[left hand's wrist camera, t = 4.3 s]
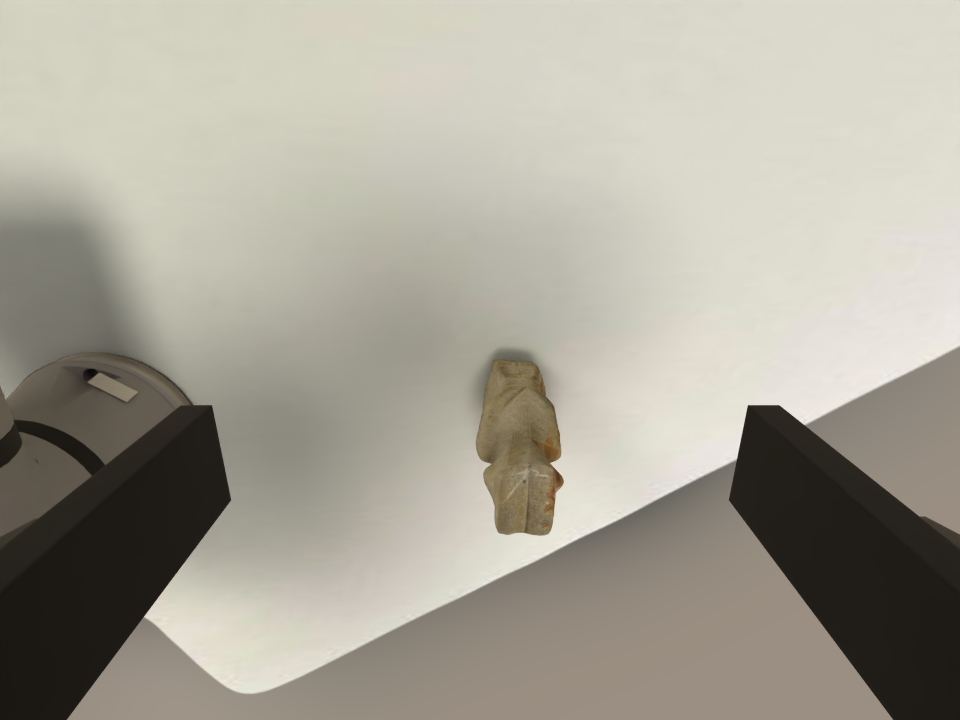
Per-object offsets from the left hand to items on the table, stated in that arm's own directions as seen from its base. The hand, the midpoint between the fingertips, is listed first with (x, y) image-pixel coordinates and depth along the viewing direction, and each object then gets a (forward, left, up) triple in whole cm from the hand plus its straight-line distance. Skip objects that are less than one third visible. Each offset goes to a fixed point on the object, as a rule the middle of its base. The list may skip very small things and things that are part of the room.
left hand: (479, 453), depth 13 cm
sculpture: (-4, -10, -29) cm, 31 cm away
